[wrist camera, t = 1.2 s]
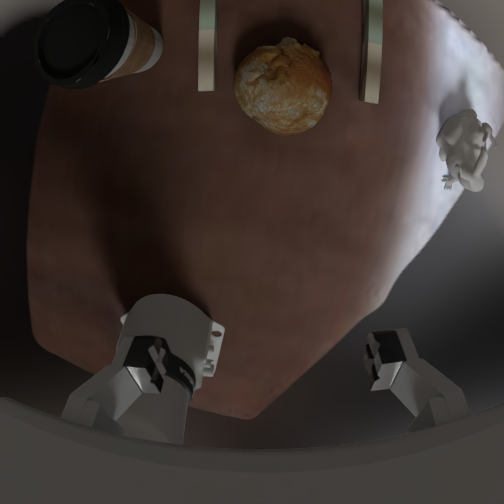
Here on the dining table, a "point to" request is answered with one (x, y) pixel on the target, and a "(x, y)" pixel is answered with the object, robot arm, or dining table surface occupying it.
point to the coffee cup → (93, 43)
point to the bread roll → (284, 86)
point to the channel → (369, 48)
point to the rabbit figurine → (465, 149)
